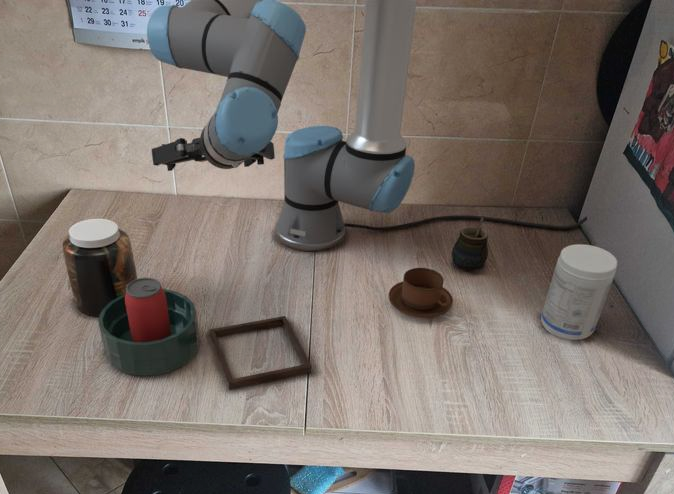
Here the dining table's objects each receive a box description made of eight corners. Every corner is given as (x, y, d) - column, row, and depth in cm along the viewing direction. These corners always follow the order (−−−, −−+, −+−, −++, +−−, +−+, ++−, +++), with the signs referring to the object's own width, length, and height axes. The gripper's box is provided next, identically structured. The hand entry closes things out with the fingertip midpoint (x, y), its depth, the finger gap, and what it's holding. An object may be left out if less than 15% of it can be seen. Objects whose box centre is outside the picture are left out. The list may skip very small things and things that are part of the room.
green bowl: (190, 314, 120) (186, 282, 115) (207, 367, 108) (204, 334, 104) (102, 329, 115) (94, 297, 111) (110, 386, 104) (103, 352, 99)
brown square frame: (285, 322, 118) (285, 315, 117) (311, 372, 107) (311, 366, 106) (209, 336, 115) (209, 329, 114) (229, 389, 104) (228, 383, 103)
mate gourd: (446, 271, 133) (454, 227, 127) (453, 254, 138) (461, 211, 132) (481, 279, 131) (491, 235, 125) (487, 261, 136) (497, 218, 130)
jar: (83, 324, 116) (65, 252, 107) (70, 292, 124) (52, 221, 115) (147, 308, 121) (136, 237, 111) (130, 277, 129) (118, 208, 119)
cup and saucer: (458, 297, 126) (463, 270, 122) (441, 331, 117) (446, 303, 113) (399, 282, 129) (402, 255, 125) (378, 313, 121) (382, 286, 117)
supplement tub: (567, 306, 124) (590, 238, 115) (605, 334, 117) (632, 264, 108) (528, 318, 121) (548, 249, 111) (564, 347, 114) (589, 277, 105)
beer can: (164, 359, 108) (155, 300, 101) (127, 354, 109) (115, 295, 102) (178, 336, 113) (170, 278, 106) (142, 331, 114) (132, 273, 107)
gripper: (144, 170, 91) (138, 186, 111) (312, 161, 98) (278, 178, 118) (137, 115, 90) (132, 141, 110) (308, 110, 97) (274, 136, 117)
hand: (207, 160), depth 114 cm, fingers open, 13 cm apart
